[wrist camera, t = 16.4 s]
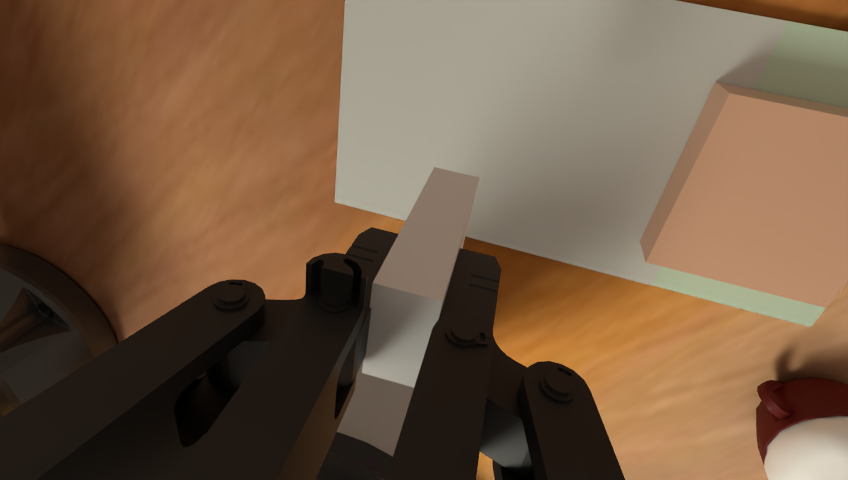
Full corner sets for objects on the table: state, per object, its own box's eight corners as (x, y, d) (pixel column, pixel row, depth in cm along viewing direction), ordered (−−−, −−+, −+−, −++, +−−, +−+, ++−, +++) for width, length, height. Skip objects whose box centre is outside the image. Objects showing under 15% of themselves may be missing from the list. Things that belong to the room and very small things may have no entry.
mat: (338, 198, 28) (334, 202, 27) (352, -60, 21) (348, -60, 20) (807, 321, 24) (811, 327, 24) (1013, 62, 17) (1024, 64, 17)
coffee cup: (399, 228, 28) (266, 448, 15) (511, 308, 29) (470, 577, 16) (338, 308, 32) (197, 528, 20) (436, 375, 33) (359, 625, 21)
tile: (645, 262, 22) (826, 308, 21) (729, 93, 18) (962, 140, 17) (639, 240, 24) (807, 281, 23) (715, 81, 20) (925, 123, 19)
